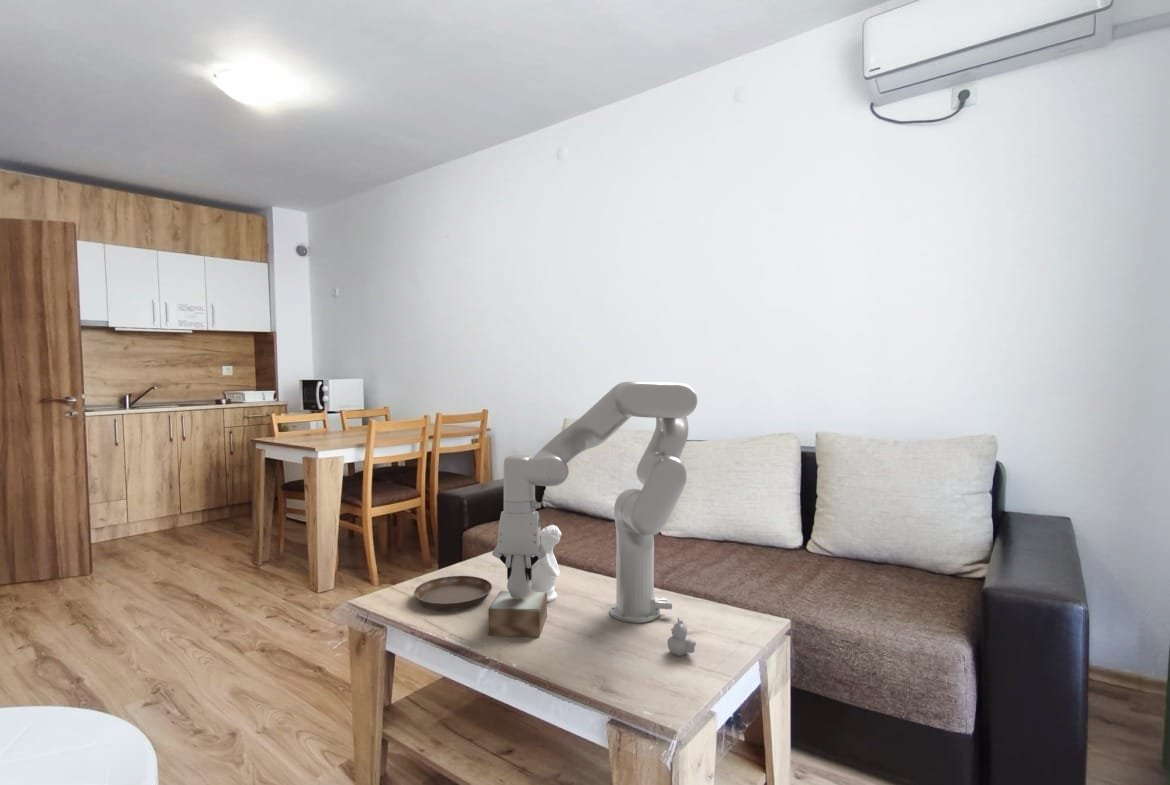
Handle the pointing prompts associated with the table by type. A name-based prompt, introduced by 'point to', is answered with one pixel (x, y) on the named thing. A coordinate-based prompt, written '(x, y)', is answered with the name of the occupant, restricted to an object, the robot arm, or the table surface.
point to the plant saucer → (453, 592)
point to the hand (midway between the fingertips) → (519, 582)
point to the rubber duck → (680, 640)
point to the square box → (517, 615)
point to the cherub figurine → (546, 564)
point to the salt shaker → (518, 577)
